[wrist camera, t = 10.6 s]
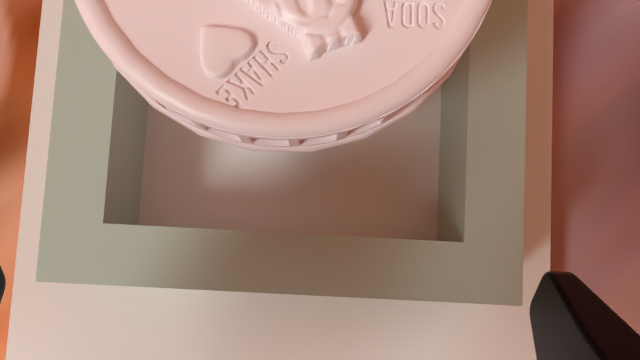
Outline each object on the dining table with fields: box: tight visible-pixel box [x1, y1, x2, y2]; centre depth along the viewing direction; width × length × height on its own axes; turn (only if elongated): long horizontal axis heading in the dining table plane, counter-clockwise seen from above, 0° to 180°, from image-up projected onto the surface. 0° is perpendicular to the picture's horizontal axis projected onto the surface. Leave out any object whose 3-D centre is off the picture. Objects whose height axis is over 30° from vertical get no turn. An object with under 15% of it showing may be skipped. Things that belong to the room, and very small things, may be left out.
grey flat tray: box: [6, 0, 554, 360], centre depth 17 cm, size 20×16×4 cm
